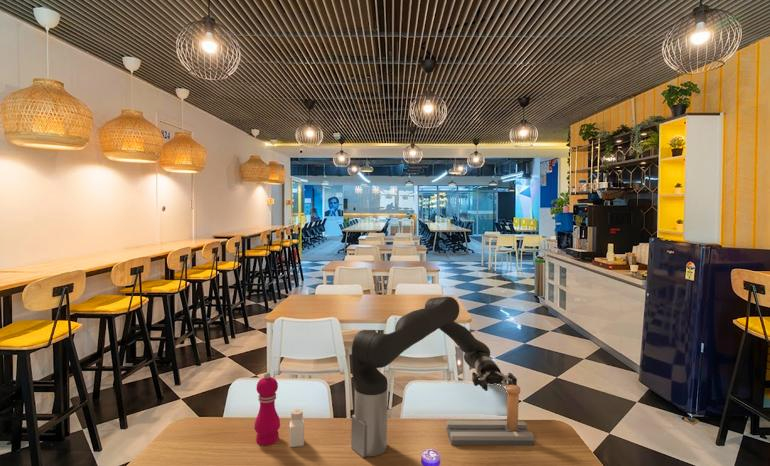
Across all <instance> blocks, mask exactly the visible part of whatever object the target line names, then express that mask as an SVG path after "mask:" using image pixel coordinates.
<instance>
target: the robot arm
mask: <svg viewBox="0 0 770 466" xmlns="http://www.w3.org/2000/svg"><path fill="white" fill-rule="evenodd" d="M459 314H460V304H459V303H458V301H457V300H456V298H455V297H452V296H439V297H433V298H432V297H431V298H429V299H427V300H426V302H425V303H424V308H420V309H416V310H412V311H410V312H408V313H407V314H405V315H402V316H401V317H400V318H399V319H398V320H397V321H396V323H395V328H394V331H392V332H390V333H382V332H379V331H378V332H376V331H372V330H367V329H362V330H359V331H358V332H356V334H355V336H354V337H353V339H352V340H353V341H352V343H351V369H352V370H351V373H352V376H351V377H352V380H353V383H354V414H352V415H351V427H350V428H351V432H350V433H351V434H350V435H351V437H350V438H351V439H350V440H351V443H350V444H351V445H350V446H351V449H352V450H353V451H354V452H356V453H357V454H358V455H360V457H362V458H365V457H377V456H380V455H382V454H384V453H385V452H386V450H387V447H388V446H387V445H388V440H387V439H388V383H389V382H388V379H387V376H385V374H384V373H382V372H381V371H380V370H378V369H380V368H381V369H382V368H386V367H387V366H389V365H390V364H392V362H393V361H395V360H396V359H397V358H398V357H399V356H400V355H401V354H402V353H404V352H405V351H406V350H408V349H409V348H411V347H412V346H413V345H416V344H417V343H419V342H420V341H422V340H423V339H425V338H426V337H428V336H429V335H431V334H432V333H434V332H435V331H437V330H438V329H439V330H440V331H441V332H442V333H444V334H445V335H447V336H448V337H449V338H450V339H451V340H452V341H453V342H454V343H455V344H456V346H457V347H458V348H459V349H460V350H461V351H462V352H463V353H464V355H463V359H464V362H465V363H466V365H468V366H469V367H470V368H472V369H474V370H475V372H474V371H473V372H472V373H471V380H472V383H473V386H475V387H478V386H479V387H481V388H482V390H484V391H485V392H487V391H489V390H488V386H489V385H490V386H492V385H494V384H495V385H499V386H502V387H506V386H507V385H516V386H518V381H517V380H518V378H517V377H516V376H515V375H513V373H511V372H508V374H504V373H502V371H501V369H500V367H499V366H498V365H497V363H496V362H495V361H494V360H493V359H492V358H491V357H490V356H491V350H490V348H489V346H488V345H486V344H485V343H483V342H482V341H480V340H478V339H477V338H476V337H475V335H473V334H472V332H471V331H470V330H469V329H468V328H467V327H465V326H464V325H462V324H459V323H458V322H455V321H456V320H457V318H458V317H459Z"/></svg>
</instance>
